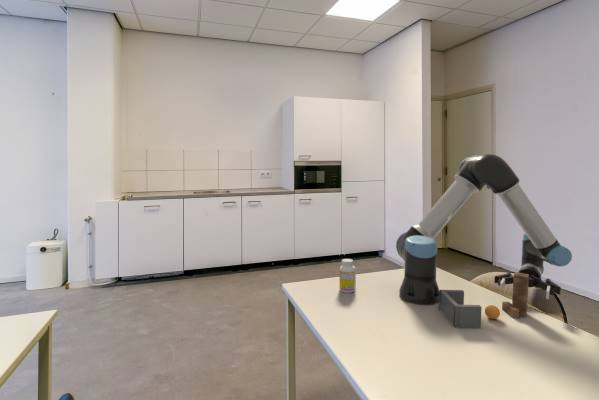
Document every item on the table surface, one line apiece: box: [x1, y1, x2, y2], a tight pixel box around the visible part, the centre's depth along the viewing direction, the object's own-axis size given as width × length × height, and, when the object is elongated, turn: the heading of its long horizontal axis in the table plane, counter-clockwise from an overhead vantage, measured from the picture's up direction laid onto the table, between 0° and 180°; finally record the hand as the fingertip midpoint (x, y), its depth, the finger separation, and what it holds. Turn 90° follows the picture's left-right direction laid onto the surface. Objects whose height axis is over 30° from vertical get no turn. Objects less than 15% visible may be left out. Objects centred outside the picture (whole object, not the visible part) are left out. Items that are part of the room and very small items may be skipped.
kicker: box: [501, 271, 529, 319], centre depth 119 cm, size 7×7×14 cm
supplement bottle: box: [339, 258, 357, 294], centre depth 144 cm, size 7×7×13 cm
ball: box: [484, 304, 501, 320], centre depth 116 cm, size 4×4×4 cm
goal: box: [438, 289, 482, 329], centre depth 117 cm, size 15×8×7 cm, turn 176°
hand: (523, 290), depth 120 cm, fingers open, 13 cm apart
